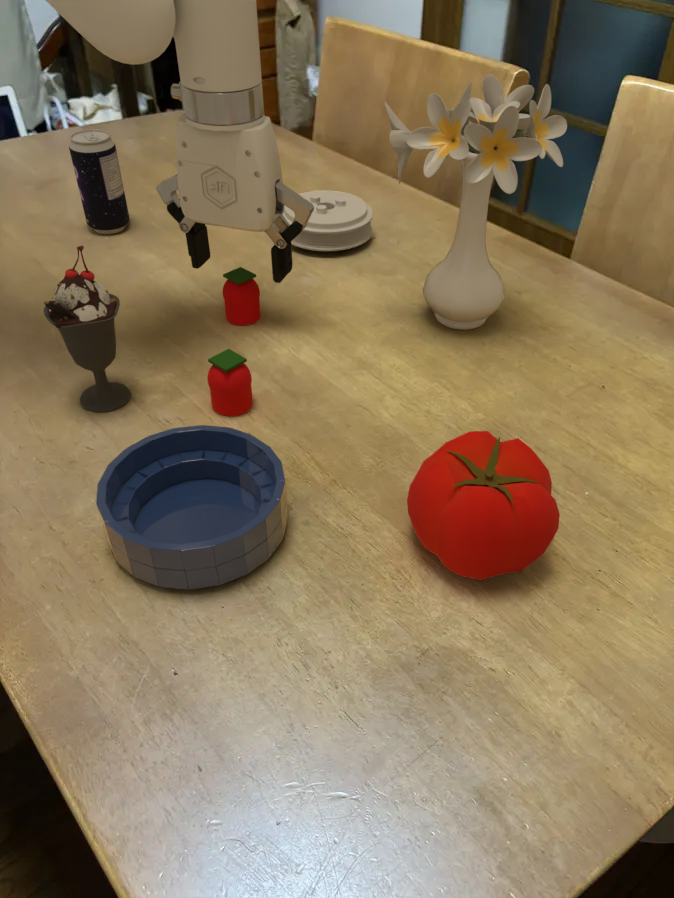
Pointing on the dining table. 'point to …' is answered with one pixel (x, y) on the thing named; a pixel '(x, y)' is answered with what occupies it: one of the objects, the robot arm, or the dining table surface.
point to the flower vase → (476, 184)
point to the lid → (333, 221)
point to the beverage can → (99, 180)
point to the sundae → (89, 333)
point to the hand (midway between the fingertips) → (241, 270)
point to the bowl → (193, 506)
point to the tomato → (483, 505)
